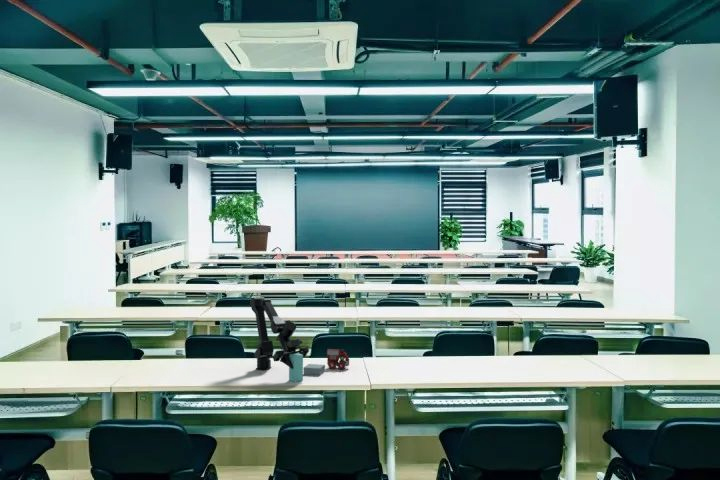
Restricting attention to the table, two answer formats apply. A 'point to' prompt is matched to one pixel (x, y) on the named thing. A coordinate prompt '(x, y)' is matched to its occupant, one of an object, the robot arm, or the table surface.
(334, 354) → the toy fire truck
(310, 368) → the base brick
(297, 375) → the teal block
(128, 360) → the table surface
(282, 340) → the robot arm
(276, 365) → the table surface
